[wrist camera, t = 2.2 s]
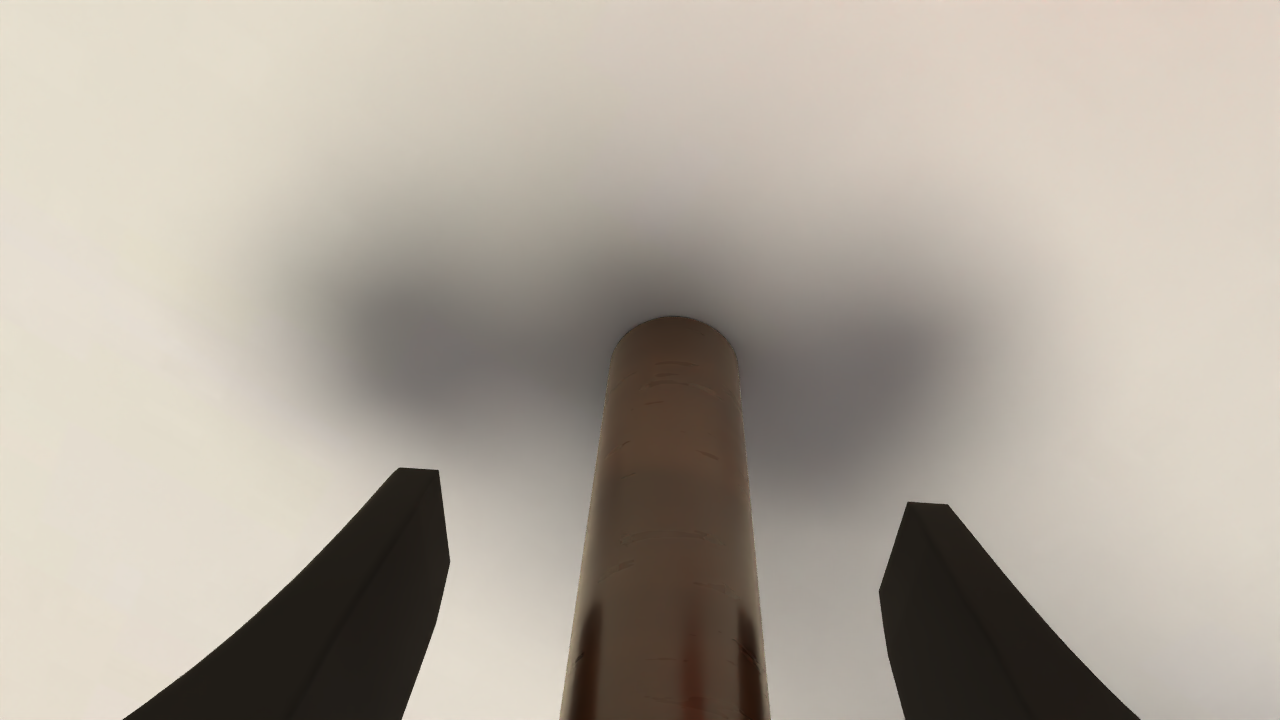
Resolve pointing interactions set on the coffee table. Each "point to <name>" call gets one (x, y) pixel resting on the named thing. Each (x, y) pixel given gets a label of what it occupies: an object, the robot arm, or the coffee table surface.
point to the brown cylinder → (669, 541)
